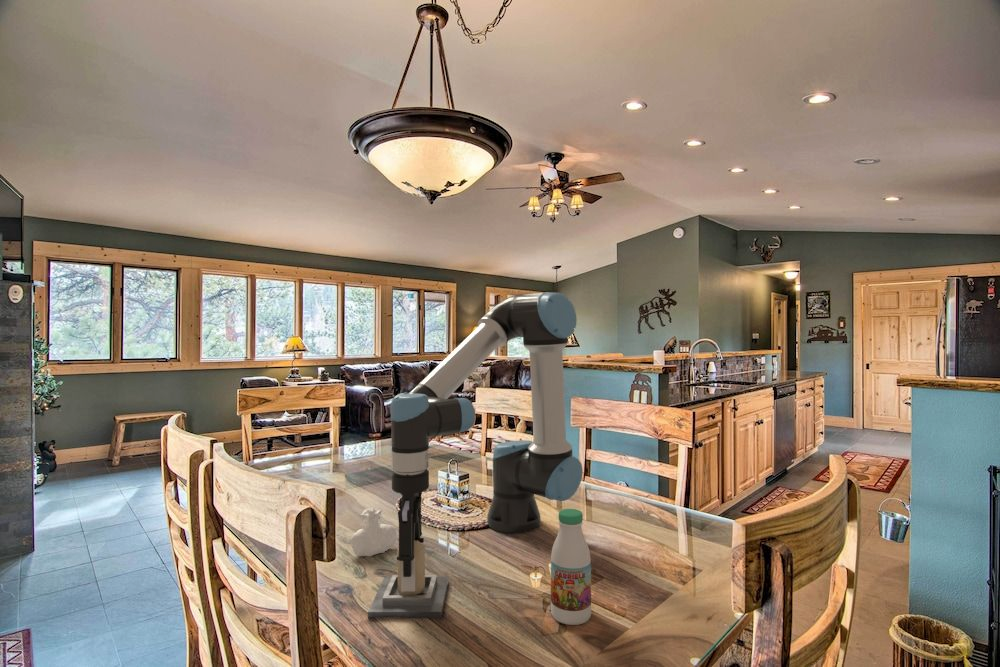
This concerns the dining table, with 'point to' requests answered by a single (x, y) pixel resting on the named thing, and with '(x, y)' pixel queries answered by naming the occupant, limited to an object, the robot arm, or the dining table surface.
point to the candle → (419, 570)
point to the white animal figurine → (373, 535)
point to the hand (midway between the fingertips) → (411, 582)
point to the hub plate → (410, 599)
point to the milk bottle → (570, 571)
